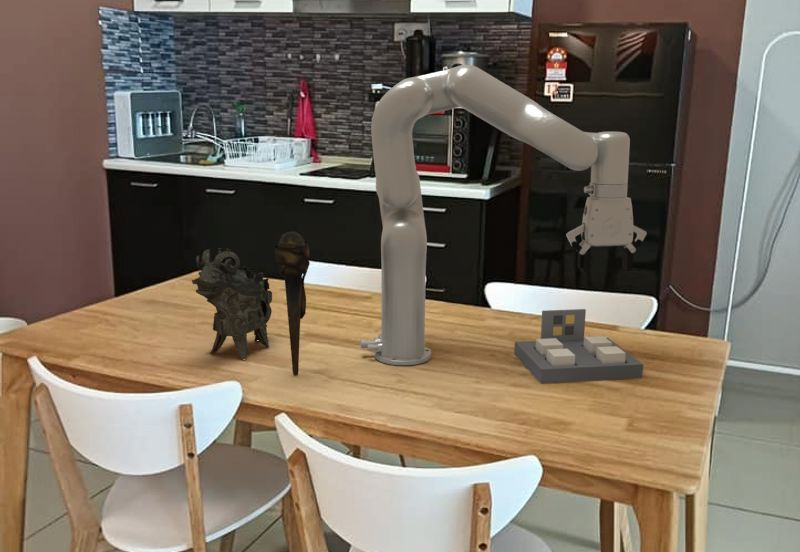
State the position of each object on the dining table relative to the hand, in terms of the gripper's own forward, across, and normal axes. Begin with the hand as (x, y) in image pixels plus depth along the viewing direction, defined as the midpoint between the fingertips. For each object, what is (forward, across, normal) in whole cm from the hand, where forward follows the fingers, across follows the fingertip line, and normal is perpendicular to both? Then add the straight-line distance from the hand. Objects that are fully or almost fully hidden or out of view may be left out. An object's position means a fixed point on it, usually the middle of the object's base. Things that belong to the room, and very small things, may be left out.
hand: (604, 270), depth 179 cm
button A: (+17, -12, -9) cm, 23 cm away
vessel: (+19, -80, +12) cm, 83 cm away
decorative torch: (+19, -67, -4) cm, 70 cm away
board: (+20, -7, -4) cm, 21 cm away
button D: (+18, -1, -1) cm, 18 cm away
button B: (+18, -1, -8) cm, 19 cm away
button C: (+17, -12, -2) cm, 21 cm away
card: (+17, -7, +5) cm, 19 cm away
